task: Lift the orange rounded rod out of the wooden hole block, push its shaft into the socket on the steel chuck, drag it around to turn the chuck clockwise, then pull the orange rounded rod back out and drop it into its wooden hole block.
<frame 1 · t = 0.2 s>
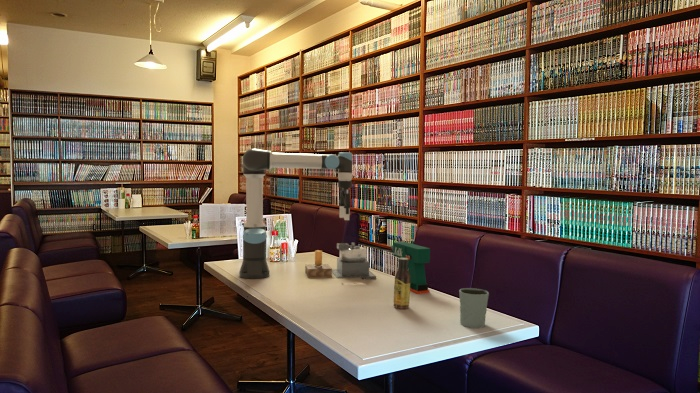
hand: (344, 218, 266), 28 cm above the table, tool pointing down, fingers open, 13 cm apart
grey cup: (472, 324, 172), on the table
orange rounded rod: (318, 274, 246), point 1 cm above the table, touching wooden hole block
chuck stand: (352, 275, 250), on the table
chuck: (351, 251, 249), point 13 cm above the table, hinge at 0.0°
power tool: (404, 285, 230), on the table
wooden hole block: (318, 276, 247), on the table
sauce bottle: (401, 307, 192), on the table
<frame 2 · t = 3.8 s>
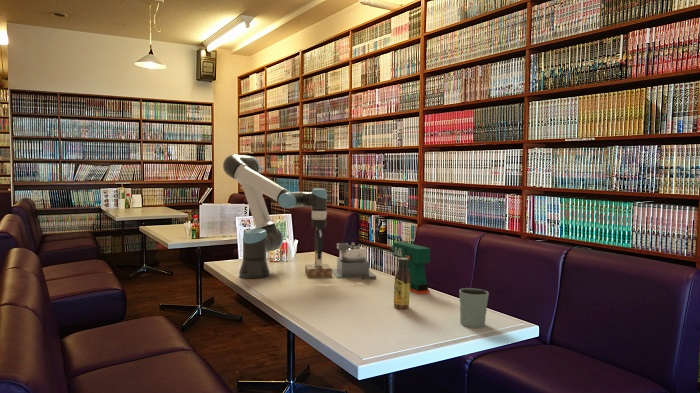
hand: (318, 264, 246), 6 cm above the table, tool pointing down, fingers closed on orange rounded rod, 3 cm apart
orange rounded rod: (318, 274, 247), point 1 cm above the table, touching gripper
everything else where it was.
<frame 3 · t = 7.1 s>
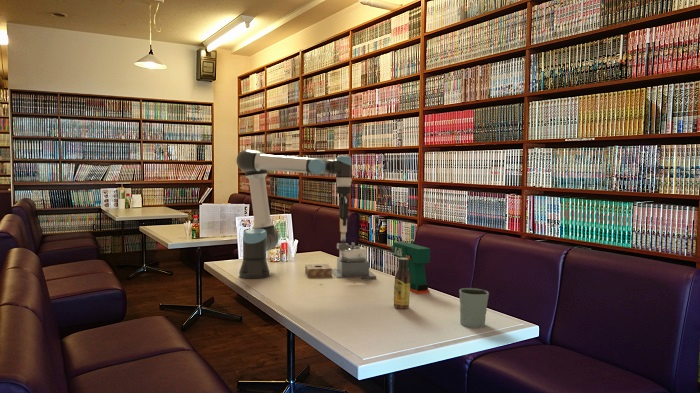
hand: (343, 231, 248), 23 cm above the table, tool pointing down, fingers closed on orange rounded rod, 3 cm apart
orange rounded rod: (343, 241, 248), point 18 cm above the table, touching gripper
everything else where it was.
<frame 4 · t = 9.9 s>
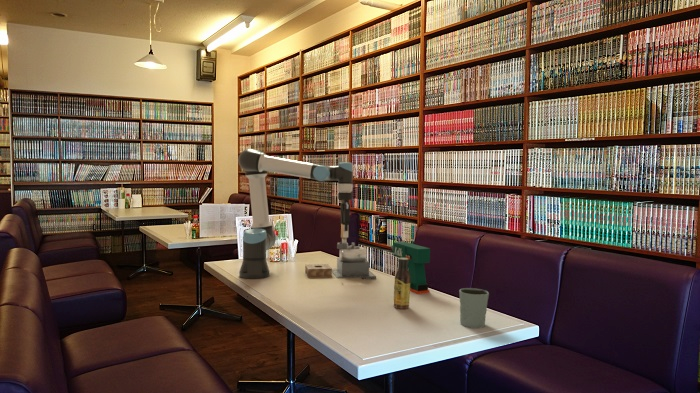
hand: (344, 236, 251), 20 cm above the table, tool pointing down, fingers closed on orange rounded rod, 4 cm apart
orange rounded rod: (343, 247, 250), point 14 cm above the table, tilted 10°, touching chuck, gripper
chuck: (351, 251, 250), point 13 cm above the table, hinge at -17.3°, touching orange rounded rod
everything else where it was.
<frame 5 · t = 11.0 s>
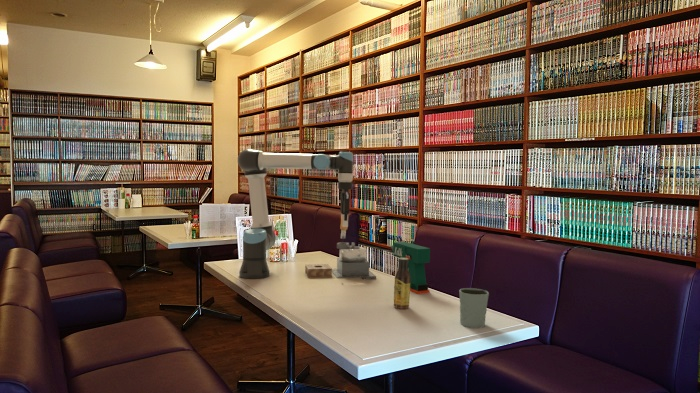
hand: (344, 226, 252), 25 cm above the table, tool pointing down, fingers closed on orange rounded rod, 3 cm apart
orange rounded rod: (342, 238, 252), point 19 cm above the table, touching gripper
chuck: (352, 251, 250), point 13 cm above the table, hinge at -26.7°
everything else where it was.
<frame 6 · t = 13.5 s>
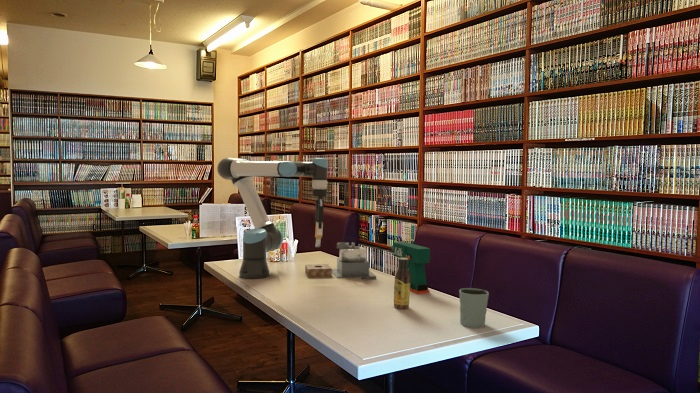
hand: (319, 234, 245), 22 cm above the table, tool pointing down, fingers closed on orange rounded rod, 3 cm apart
orange rounded rod: (317, 247, 246), point 15 cm above the table, touching gripper
everything else where it was.
when the fingers open (7 cm above the table, at t = 16.2 s): orange rounded rod stays where it is, resting on wooden hole block.
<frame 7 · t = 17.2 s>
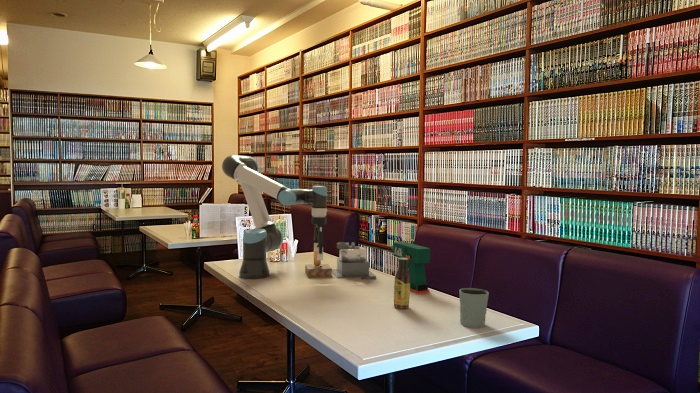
hand: (318, 257, 246), 10 cm above the table, tool pointing down, fingers open, 13 cm apart
orange rounded rod: (317, 274, 246), point 1 cm above the table, touching wooden hole block
everything else where it was.
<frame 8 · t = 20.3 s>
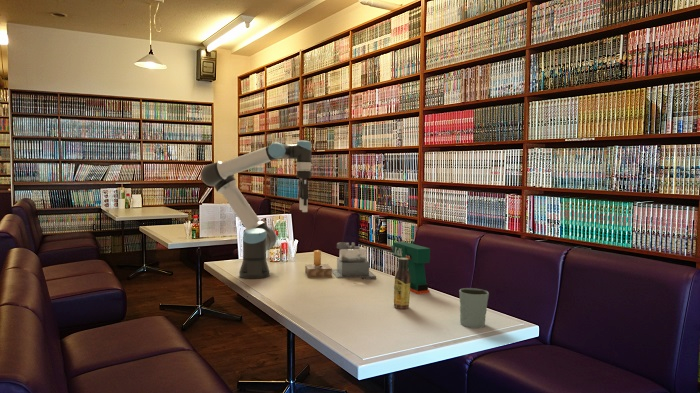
hand: (303, 210, 253), 33 cm above the table, tool pointing down, fingers open, 13 cm apart
nothing on the table moved.
at the end: chuck at -27° (first picture: +0°); orange rounded rod 0.5 cm off-centre on the wooden hole block, point 1.0 cm above the wooden hole block's base; the gripper is holding nothing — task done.
